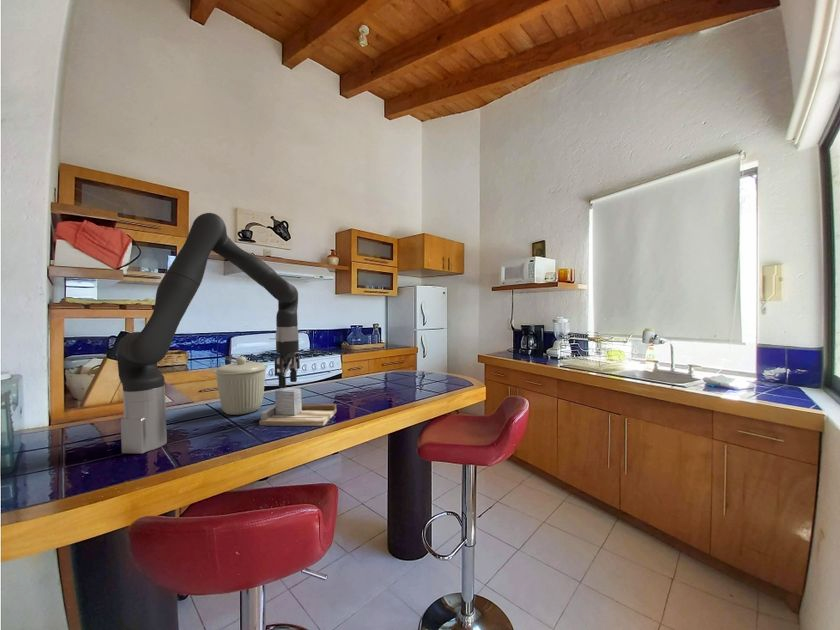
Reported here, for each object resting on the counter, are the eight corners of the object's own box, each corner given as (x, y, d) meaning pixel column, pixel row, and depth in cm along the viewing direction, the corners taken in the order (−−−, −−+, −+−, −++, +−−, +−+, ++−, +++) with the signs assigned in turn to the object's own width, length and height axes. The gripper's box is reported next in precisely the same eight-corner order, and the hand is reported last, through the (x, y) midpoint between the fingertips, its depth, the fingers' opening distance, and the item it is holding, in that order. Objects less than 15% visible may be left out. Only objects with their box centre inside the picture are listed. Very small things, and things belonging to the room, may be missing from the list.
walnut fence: (334, 410, 120) (334, 405, 120) (276, 410, 121) (275, 405, 121) (336, 408, 123) (336, 403, 123) (279, 407, 124) (279, 403, 124)
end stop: (266, 420, 111) (266, 412, 111) (260, 420, 111) (260, 412, 111) (280, 410, 121) (280, 403, 121) (275, 410, 121) (275, 403, 121)
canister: (219, 422, 113) (217, 362, 112) (212, 410, 127) (210, 356, 126) (274, 411, 124) (272, 356, 124) (262, 401, 138) (260, 351, 138)
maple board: (323, 425, 109) (323, 421, 109) (259, 425, 110) (259, 420, 110) (336, 412, 123) (336, 407, 123) (279, 411, 124) (279, 407, 124)
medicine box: (302, 412, 119) (301, 388, 118) (294, 416, 114) (294, 391, 114) (283, 410, 120) (282, 387, 120) (275, 414, 116) (274, 390, 116)
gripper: (286, 337, 124) (287, 380, 124) (266, 341, 109) (267, 389, 110) (305, 337, 123) (306, 380, 124) (288, 341, 109) (289, 389, 109)
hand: (288, 384), depth 117 cm, fingers open, 8 cm apart
